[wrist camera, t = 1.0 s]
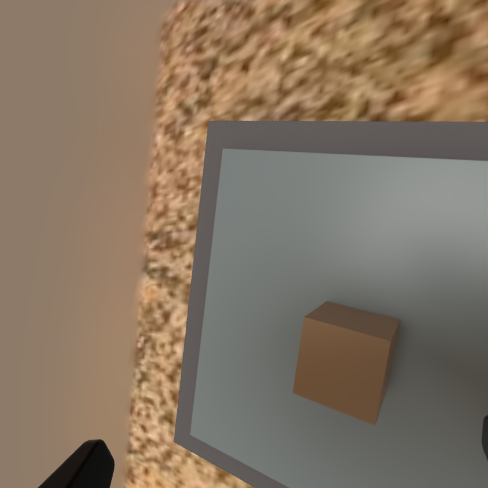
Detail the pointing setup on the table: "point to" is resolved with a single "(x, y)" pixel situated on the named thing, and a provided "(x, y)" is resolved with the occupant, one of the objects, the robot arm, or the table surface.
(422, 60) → the table surface
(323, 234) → the lid
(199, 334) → the mat
